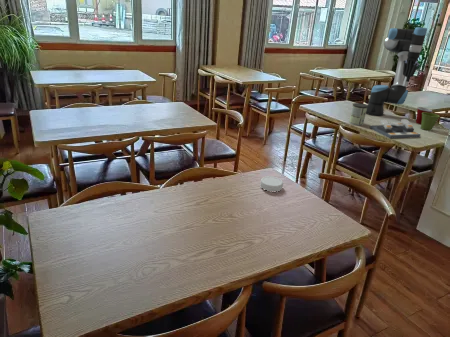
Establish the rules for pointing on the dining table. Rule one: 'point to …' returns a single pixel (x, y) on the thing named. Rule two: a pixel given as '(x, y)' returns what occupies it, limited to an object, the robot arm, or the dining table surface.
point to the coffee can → (358, 114)
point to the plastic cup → (419, 114)
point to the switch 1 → (385, 124)
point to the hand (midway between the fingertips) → (404, 85)
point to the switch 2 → (406, 123)
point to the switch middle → (396, 124)
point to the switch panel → (374, 127)
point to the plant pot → (428, 120)
